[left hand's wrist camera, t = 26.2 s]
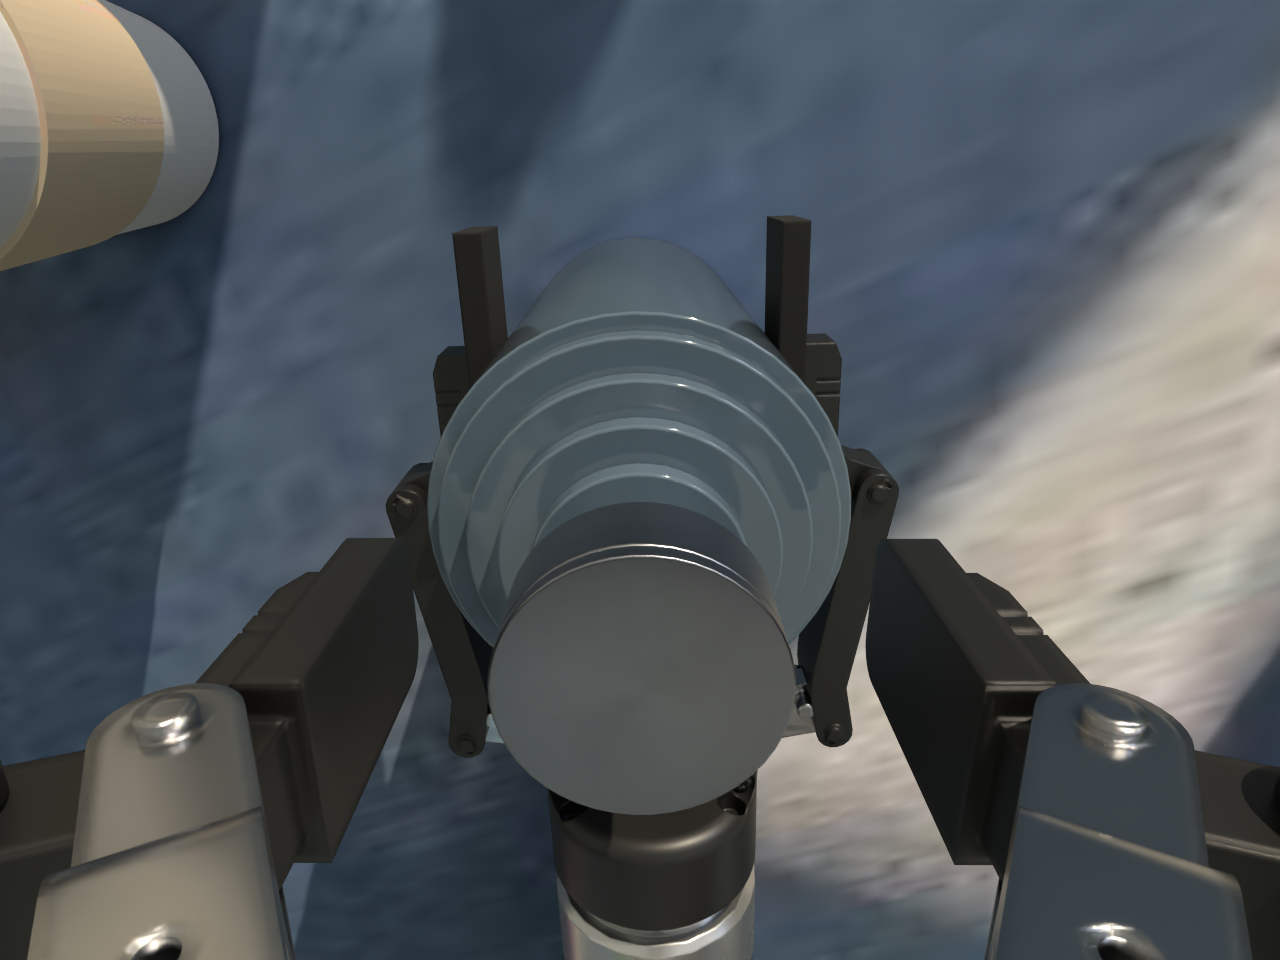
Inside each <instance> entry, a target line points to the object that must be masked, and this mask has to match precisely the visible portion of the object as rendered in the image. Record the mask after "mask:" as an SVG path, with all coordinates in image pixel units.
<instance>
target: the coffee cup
mask: <svg viewBox="0 0 1280 960" xmlns="http://www.w3.org/2000/svg"><path fill="white" fill-rule="evenodd" d="M218 149H219V128H218V120H217V114H216V110H215V106H214V102H213V99H212V96H211V93H210V91H209V88H208V86H207V84H206V82H205V80H204V78H203V76H202V74H201V72H200V71H199V69H198V67H197V66H196V64H195V63H194V62H193V60H192V59H191V57H190V56H189V55H188V54H187V52H186V51H185V50H184V49H183V48H182V47H181V46H180V45H179V44H178V43H177V42H176V41H175V40H174V39H173V38H172V37H171V36H170V35H169V34H167V33H166V32H165V31H164V30H162V29H161V28H160V27H158V26H157V25H155V24H154V23H152V22H150V21H149V20H147V19H145V18H143V17H141V16H139V15H136V14H134V13H132V12H130V11H128V10H126V9H123V8H121V7H119V6H117V5H115V4H112V3H110V2H108V1H106V0H0V271H3V270H7V269H10V268H14V267H17V266H21V265H25V264H28V263H32V262H35V261H39V260H42V259H46V258H50V257H53V256H57V255H60V254H64V253H67V252H71V251H75V250H78V249H82V248H85V247H89V246H92V245H95V244H98V243H101V242H103V241H105V240H107V239H109V238H111V237H113V236H115V235H118V234H122V233H125V232H129V231H133V230H137V229H141V228H145V227H149V226H153V225H157V224H160V223H164V222H166V221H169V220H171V219H173V218H175V217H177V216H179V215H180V214H182V213H183V212H185V211H186V210H187V209H189V208H190V207H191V206H192V205H193V204H194V203H195V202H196V201H197V200H198V199H199V197H200V196H201V195H202V194H203V192H204V190H205V189H206V187H207V185H208V184H209V182H210V179H211V177H212V175H213V172H214V169H215V165H216V161H217V156H218Z"/></svg>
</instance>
